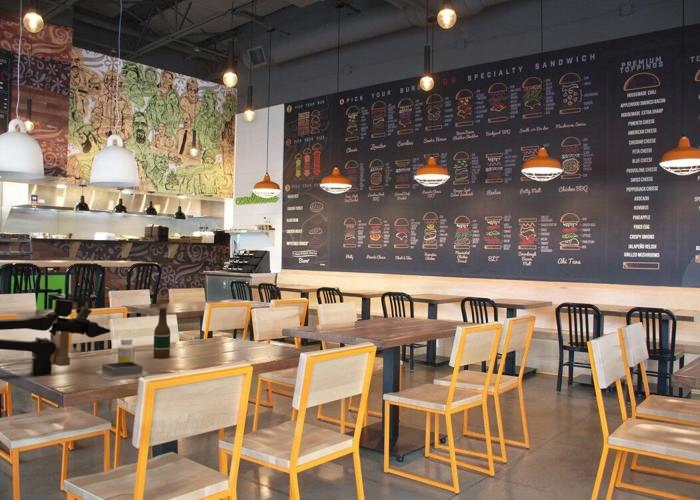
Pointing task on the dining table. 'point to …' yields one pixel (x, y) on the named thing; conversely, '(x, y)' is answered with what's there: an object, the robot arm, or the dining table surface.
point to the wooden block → (60, 348)
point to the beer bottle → (162, 336)
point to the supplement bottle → (126, 351)
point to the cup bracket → (121, 371)
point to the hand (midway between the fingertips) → (107, 329)
